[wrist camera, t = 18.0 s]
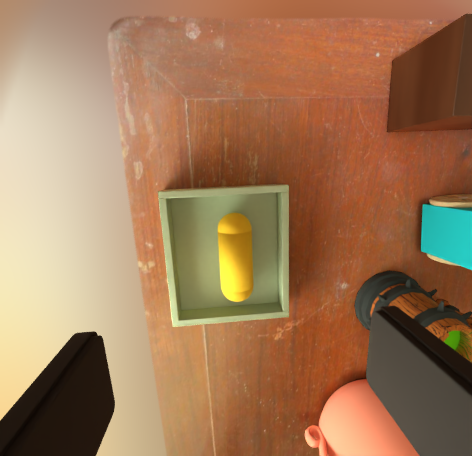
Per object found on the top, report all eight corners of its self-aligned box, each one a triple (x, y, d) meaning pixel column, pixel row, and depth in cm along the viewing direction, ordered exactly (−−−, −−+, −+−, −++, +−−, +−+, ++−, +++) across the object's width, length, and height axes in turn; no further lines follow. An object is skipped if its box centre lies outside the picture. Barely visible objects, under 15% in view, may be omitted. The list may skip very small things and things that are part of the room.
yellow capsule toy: (210, 212, 30) (227, 217, 27) (239, 209, 32) (258, 212, 29) (216, 298, 32) (232, 311, 29) (242, 289, 34) (260, 301, 31)
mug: (351, 336, 37) (409, 406, 26) (354, 271, 35) (419, 317, 24) (434, 327, 38) (525, 392, 27) (442, 264, 36) (545, 305, 25)
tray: (163, 189, 31) (157, 191, 28) (281, 183, 32) (288, 184, 29) (176, 312, 34) (172, 327, 31) (282, 303, 35) (289, 316, 32)
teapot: (436, 361, 40) (534, 445, 27) (424, 441, 43) (506, 546, 31) (299, 374, 38) (338, 468, 26) (297, 456, 41) (331, 573, 29)
